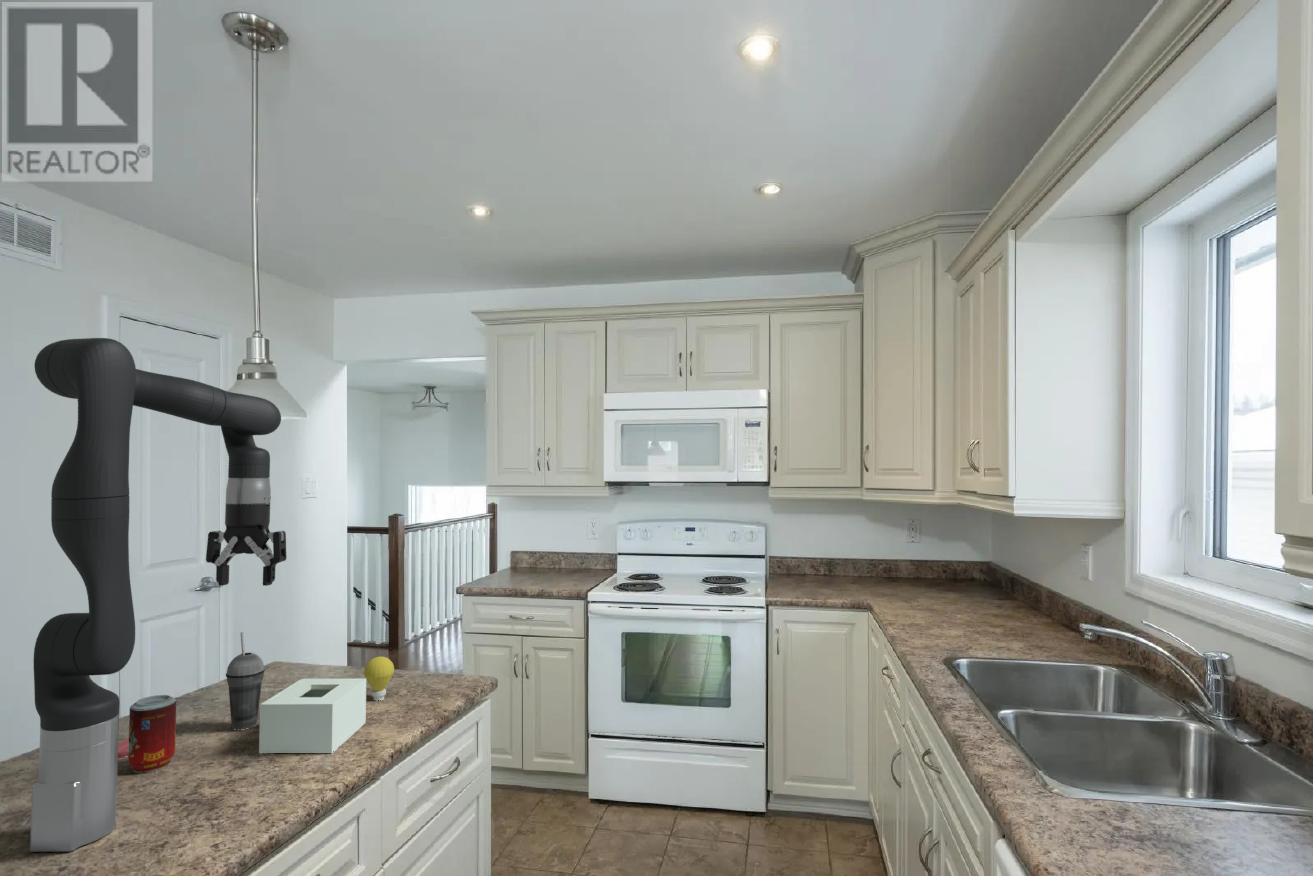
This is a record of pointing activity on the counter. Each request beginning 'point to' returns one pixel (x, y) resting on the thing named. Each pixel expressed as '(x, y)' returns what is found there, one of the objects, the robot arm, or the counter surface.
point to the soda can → (152, 733)
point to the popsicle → (123, 748)
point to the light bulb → (379, 675)
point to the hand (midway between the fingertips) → (245, 585)
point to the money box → (312, 716)
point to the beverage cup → (245, 688)
